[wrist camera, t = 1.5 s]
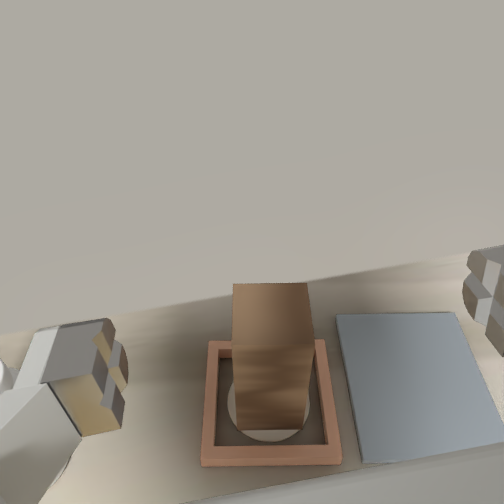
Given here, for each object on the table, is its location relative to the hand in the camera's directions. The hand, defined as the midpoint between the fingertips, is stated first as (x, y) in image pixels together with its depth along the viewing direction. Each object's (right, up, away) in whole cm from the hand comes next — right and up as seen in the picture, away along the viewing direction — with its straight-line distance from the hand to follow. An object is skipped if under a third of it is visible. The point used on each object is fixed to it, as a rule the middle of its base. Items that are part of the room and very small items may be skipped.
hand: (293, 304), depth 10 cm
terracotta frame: (0, -10, +22) cm, 24 cm away
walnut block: (0, -10, +22) cm, 24 cm away
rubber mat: (+11, -9, +24) cm, 27 cm away
